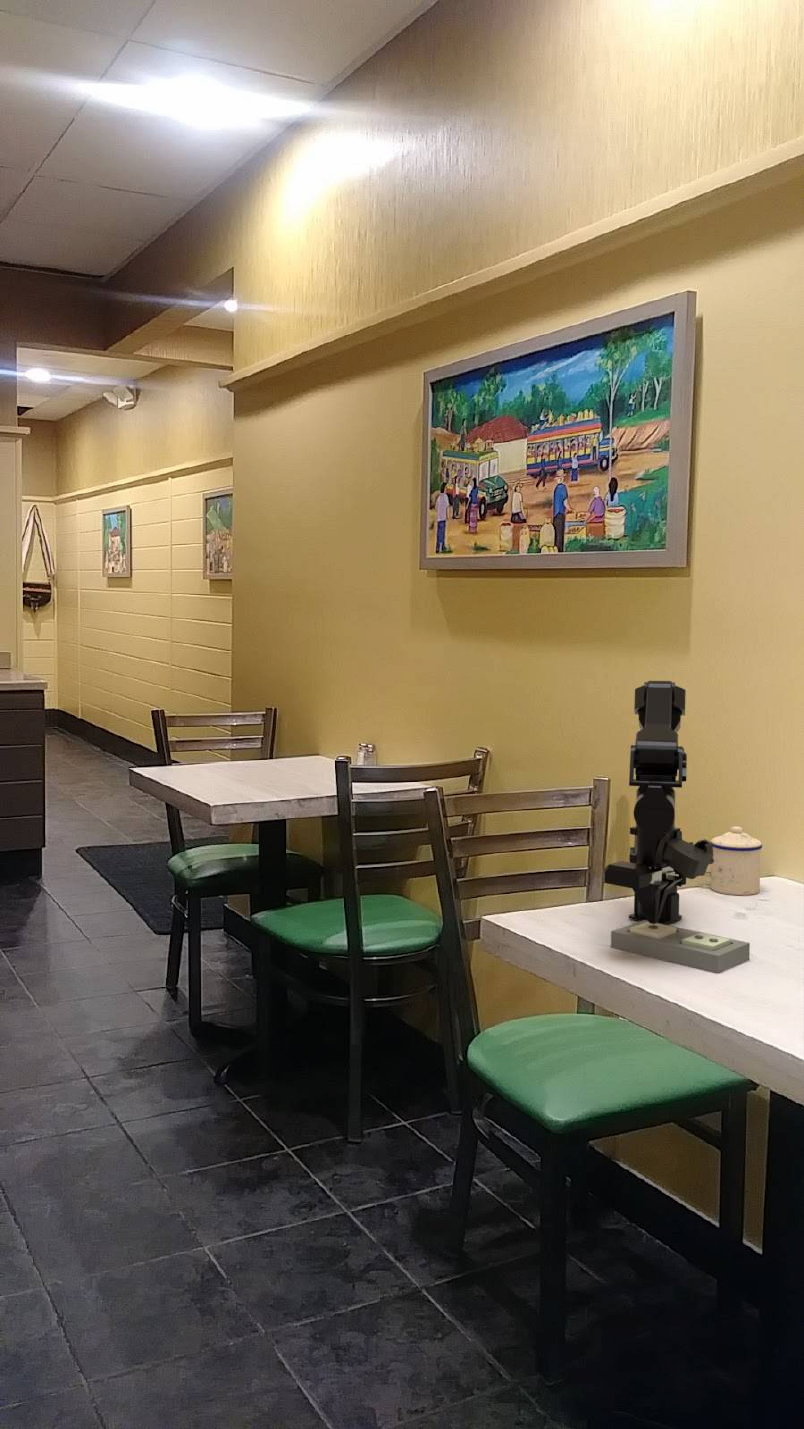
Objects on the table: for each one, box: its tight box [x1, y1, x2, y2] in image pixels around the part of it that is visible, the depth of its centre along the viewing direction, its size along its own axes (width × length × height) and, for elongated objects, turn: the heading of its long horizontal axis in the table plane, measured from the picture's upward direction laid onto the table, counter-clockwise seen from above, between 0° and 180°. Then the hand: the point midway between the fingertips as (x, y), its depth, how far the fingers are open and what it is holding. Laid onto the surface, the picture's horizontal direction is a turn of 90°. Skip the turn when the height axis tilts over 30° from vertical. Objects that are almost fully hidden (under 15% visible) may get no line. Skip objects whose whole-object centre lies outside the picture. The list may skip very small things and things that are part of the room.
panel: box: [610, 920, 751, 974], centre depth 172 cm, size 18×9×2 cm, turn 45°
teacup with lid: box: [704, 826, 763, 896], centre depth 212 cm, size 12×9×12 cm
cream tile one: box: [630, 922, 676, 939], centre depth 176 cm, size 5×5×2 cm
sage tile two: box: [682, 932, 732, 951], centre depth 169 cm, size 5×5×2 cm
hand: (653, 923), depth 175 cm, fingers closed
